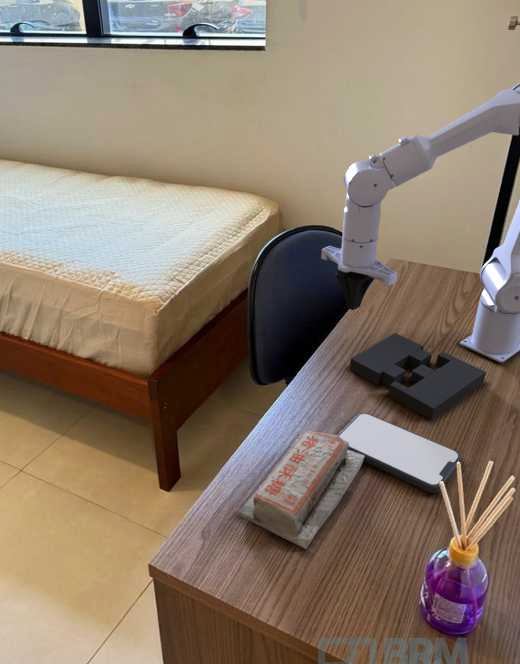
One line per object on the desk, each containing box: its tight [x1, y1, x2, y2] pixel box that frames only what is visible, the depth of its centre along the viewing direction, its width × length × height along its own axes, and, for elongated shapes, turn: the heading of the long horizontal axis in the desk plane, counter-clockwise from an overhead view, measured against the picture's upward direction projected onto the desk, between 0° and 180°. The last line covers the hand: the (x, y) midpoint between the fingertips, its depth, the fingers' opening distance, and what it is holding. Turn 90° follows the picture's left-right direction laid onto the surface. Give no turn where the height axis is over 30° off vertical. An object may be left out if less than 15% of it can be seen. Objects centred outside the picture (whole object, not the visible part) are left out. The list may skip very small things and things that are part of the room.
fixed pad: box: [388, 351, 487, 421], centre depth 99 cm, size 14×8×2 cm, turn 127°
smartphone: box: [336, 412, 462, 494], centre depth 88 cm, size 9×2×16 cm
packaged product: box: [238, 430, 365, 550], centre depth 82 cm, size 18×5×10 cm
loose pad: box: [349, 332, 433, 388], centre depth 105 cm, size 12×8×2 cm
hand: (353, 307), depth 108 cm, fingers closed
